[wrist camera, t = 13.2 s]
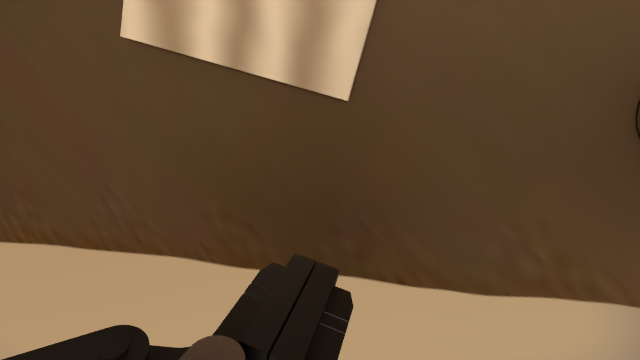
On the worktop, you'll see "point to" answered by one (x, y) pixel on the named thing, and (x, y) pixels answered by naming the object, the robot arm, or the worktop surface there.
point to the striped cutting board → (261, 36)
